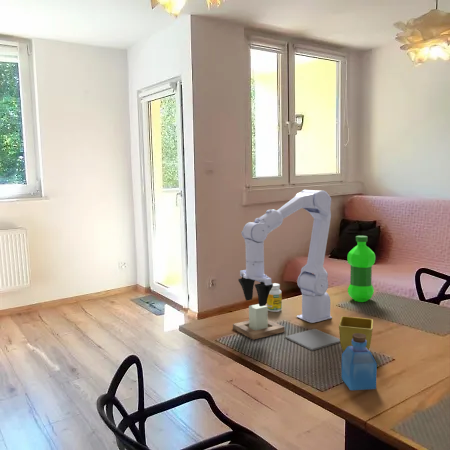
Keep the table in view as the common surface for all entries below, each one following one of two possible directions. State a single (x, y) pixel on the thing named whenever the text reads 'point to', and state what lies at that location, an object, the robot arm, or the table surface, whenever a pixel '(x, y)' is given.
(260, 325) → the sage link block
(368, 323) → the flower pot
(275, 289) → the supplement bottle
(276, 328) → the wooden square frame
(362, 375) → the perfume bottle
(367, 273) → the plastic bottle
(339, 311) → the table surface
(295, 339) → the charcoal mat
